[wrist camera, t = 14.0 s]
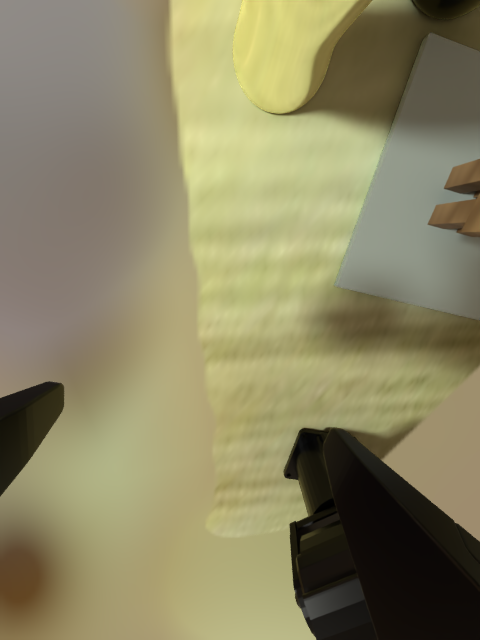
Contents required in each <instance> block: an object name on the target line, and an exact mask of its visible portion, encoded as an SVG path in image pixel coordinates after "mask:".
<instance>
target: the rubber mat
mask: <svg viewBox="0 0 480 640" xmlns="http://www.w3.org/2000/svg"><path fill="white" fill-rule="evenodd" d="M478 159H480V51H478V50H475V49H472V48H470V47H467V46H465V45H462V44H460V43H457V42H454V41H452V40H449V39H447V38H444V37H441V36H439V35H436V34H434V33H431V32H430V33H429V34H428V35H427V36H426V37H425V38H424V39H423V41H422V43H421V46H420V49H419V52H418V55H417V57H416V60H415V63H414V66H413V68H412V71H411V74H410V77H409V79H408V82H407V85H406V88H405V90H404V93H403V96H402V99H401V102H400V104H399V107H398V110H397V113H396V115H395V118H394V121H393V124H392V126H391V129H390V132H389V135H388V137H387V140H386V143H385V146H384V149H383V151H382V154H381V157H380V160H379V162H378V165H377V168H376V171H375V173H374V176H373V179H372V182H371V184H370V187H369V190H368V193H367V196H366V198H365V201H364V204H363V207H362V209H361V212H360V215H359V218H358V220H357V223H356V226H355V229H354V231H353V234H352V237H351V240H350V243H349V245H348V248H347V251H346V254H345V256H344V259H343V262H342V265H341V267H340V270H339V273H338V276H337V279H336V281H335V284H334V286H336V287H340V288H344V289H348V290H353V291H357V292H361V293H365V294H370V295H374V296H378V297H382V298H387V299H391V300H395V301H399V302H403V303H408V304H412V305H416V306H420V307H425V308H429V309H433V310H437V311H442V312H446V313H450V314H454V315H459V316H463V317H467V318H471V319H476V320H480V237H470V236H467V235H463V234H459V233H456V232H457V229H441V228H438V227H434V226H431V225H427V224H428V222H429V220H430V218H431V215H432V213H433V211H434V209H435V206H436V205H439V204H445V203H452V202H458V201H465V200H471V199H476V198H473V197H474V195H475V193H476V191H472V192H466V193H461V194H460V193H456V192H453V191H450V190H446V189H443V188H444V186H445V184H446V182H447V180H448V177H449V175H450V173H451V171H452V168H453V167H455V166H458V165H461V164H465V163H468V162H471V161H474V160H478Z"/></svg>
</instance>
